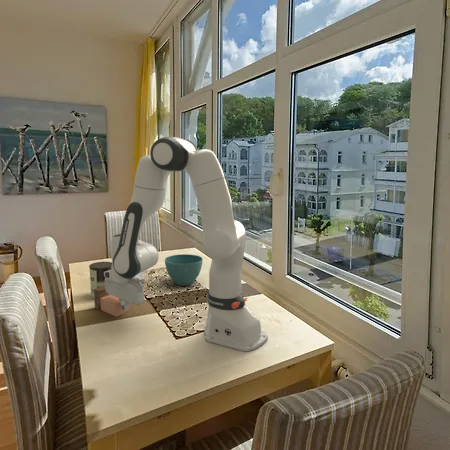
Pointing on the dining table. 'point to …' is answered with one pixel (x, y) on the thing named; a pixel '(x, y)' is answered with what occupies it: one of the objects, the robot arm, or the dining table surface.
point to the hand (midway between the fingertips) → (124, 309)
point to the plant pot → (183, 268)
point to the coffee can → (98, 275)
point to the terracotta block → (113, 305)
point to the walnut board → (100, 295)
